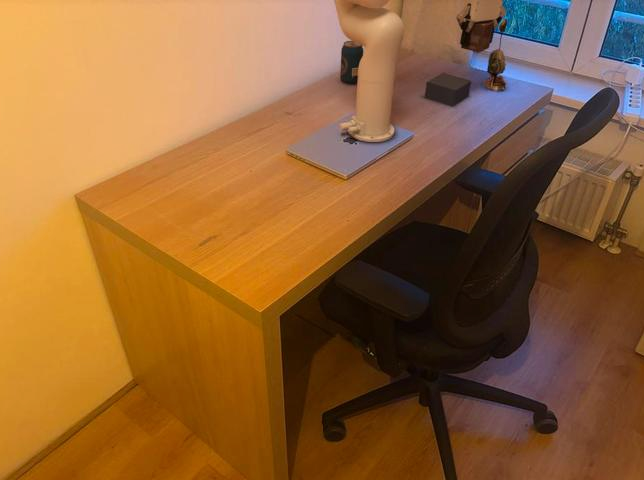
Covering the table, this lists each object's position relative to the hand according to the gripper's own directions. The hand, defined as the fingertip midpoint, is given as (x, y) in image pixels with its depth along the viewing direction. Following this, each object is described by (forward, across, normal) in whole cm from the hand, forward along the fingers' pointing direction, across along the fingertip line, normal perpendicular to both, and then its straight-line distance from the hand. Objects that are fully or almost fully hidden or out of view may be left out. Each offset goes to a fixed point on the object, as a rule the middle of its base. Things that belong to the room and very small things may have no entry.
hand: (475, 43), depth 153 cm
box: (+2, 0, 0) cm, 2 cm away
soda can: (+18, +24, -29) cm, 41 cm away
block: (+18, +2, -6) cm, 19 cm away
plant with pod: (+18, -17, -6) cm, 25 cm away
